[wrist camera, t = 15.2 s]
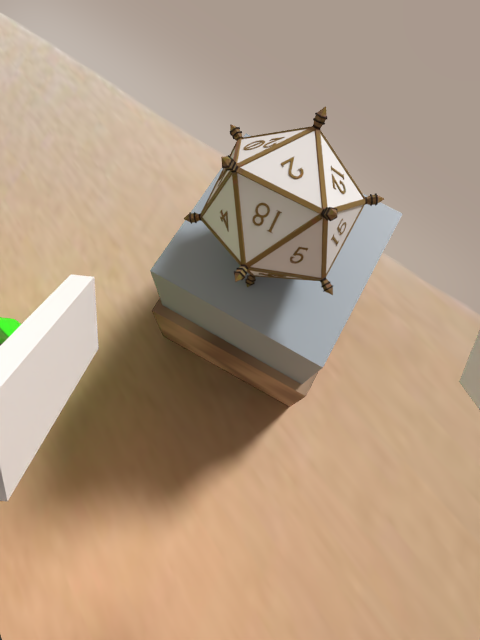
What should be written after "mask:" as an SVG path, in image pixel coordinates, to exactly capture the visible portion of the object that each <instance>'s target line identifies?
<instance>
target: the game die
mask: <svg viewBox="0 0 480 640" xmlns="http://www.w3.org/2000/svg"><path fill="white" fill-rule="evenodd" d="M315 114H316V116H315V118H314V119H313V120H314V125H313V126H312V127H306V128H300V129H293V130H287V131H281V132H275V133H269V134H263V135H256V136H250V137H242V134H241V133H242V131H240V130H239V129H240V128H239V127H235V126H233V125H230V126H231V131H230V134H231V135H232V136H233V139H235V140H237V142H236V144H235V146H234V148H233V150H232V152H231V154H230V156H229V155H228V156H227V157H221V158H222V168H223V170H222V172H221V174H220V176H219V178H218V180H217V182H216V184H215V186H214V188H213V190H212V192H211V194H210V196H209V198H208V200H207V202H206V204H205V206H204V208H203V210H202V212H201V213H200V214H197V213H195V212H194V213H191V212H189V214H188V215H187V216H186V217H185V218H184V219H185V220H187V221H188V222H190V223H191V224H192V223H194V222H195V223H197V222H198V221H202V222H203V223H204V224H205V225H206V227H207V228H208V229H209V230H210V231H211V232H212V234H213V235H214V236H215V237H216V238H217V239H218V241H219V242H220V243H221V244H222V245H223V246H224V248H225V249H226V250H227V251H228V252H229V253H230V255H231V256H232V257H233V258H234V259H235V260H236V262H237V263H238V264H239V265H240V267H239V268H236V269H237V270H236V271H234V275H235V282H237V281H239V280H243V279H244V278H245V275H246V274H247V272H248V273H249V275H247V279H246V280H245V283H246V285H247V287H249V286H251V285H253V284H255V283H254V281H256V279H255V277H269V278H283V279H297V280H311V281H320V282H321V285H322V286H321V288H323V289H324V291H325V292H327V293H329V294H331V295H333V285H331V283H330V282H331V281H330V282H329V281H328V280H327V279H326V276H327V275H328V273H329V271H330V269H331V267H332V265H333V263H334V261H335V260H336V258H337V256H338V254H339V252H340V250H341V248H342V247H343V245H344V243H345V241H346V239H347V237H348V235H349V233H350V232H351V230H352V228H353V226H354V224H355V222H356V220H357V219H358V217H359V215H360V213H361V211H362V209H363V207H364V205H365V204H368V205H370V206H372V205H375V206H376V205H377V204H378V203H379V202H381V201H382V200H384V198H382V197H380V196H378V195H377V194H375V195H371V194H370V196H368V197H364V195H363V194H362V193H361V191H360V189H359V188H358V186H357V185H356V183H355V182H354V180H353V179H352V177H351V176H350V174H349V173H348V171H347V170H346V168H345V167H344V165H343V163H342V162H341V160H340V159H339V158H338V156H337V155H336V153H335V151H334V150H333V148H332V147H331V145H330V144H329V142H328V141H327V139H326V138H325V136H324V135H323V133H322V132H321V131H320V128H321V126H322V125H323V124H325V123H324V122H325V120H326V119H327V116H326V107H324V108H323V109H322V110H320V111H319V112H318V113H315ZM324 291H323V292H324Z"/></svg>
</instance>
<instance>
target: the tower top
mask: <svg viewBox="0 0 480 640" xmlns="http://www.w3.org/2000/svg"><path fill="white" fill-rule="evenodd" d="M244 137H250V135H248V134H245V136H244ZM222 170H223V168H222V169H221V170H220V171H219V173H218V174H217V176H216V177H215V179H214V180H213V181H212V183H211V184H210V186H209V187H208V189H207V190H206V191H205V193H204V194H203V196H202V197H201V199H200V200H199V202H198V203H197V204H196V206H195V207H194V209H193V210H192V212H191V213H194V212H195V213H197V214H200V213H201V212H202V210H203V208H204V206H205V204H206V202H207V200H208V198H209V196H210V194H211V192H212V190H213V188H214V186H215V184H216V182H217V180H218V178H219V176H220V174H221V172H222ZM362 194H363V193H362ZM363 195H364V197H368V196H367V195H365V194H363ZM401 216H402V214H401V213H400V212H398V211H396V210H394V209H392V208H390V207H388V206H386V205H384V204H382V203H380V202H379V203H378V204H377V205H376V206H375V205H372V206H370V205H368V204H365V205H364V207H363V209H362V211H361V213H360V215H359V217H358V219H357V220H356V222H355V224H354V226H353V228H352V230H351V232H350V233H349V235H348V237H347V239H346V241H345V243H344V245H343V247H342V248H341V250H340V252H339V254H338V256H337V258H336V260H335V261H334V263H333V265H332V267H331V269H330V271H329V273H328V275H327V276H326V279H327V280H328V281H329V282H330V281H331V282H330V283H331V285H333V295H331V294H329V293H327V292H325V291H324V289H323V288H321V286H322V285H321V282H320V281H311V280H297V279H283V278H269V277H255V279H256V281H254V283H255V284H253V285H251V286H249V287H247V285H246V283H245V280H246V279H247V275H249V273H248V272H247V274H246V275H245V278H244V279H243V280H239V281H237V282H235V275H234V271H236V270H237V269H236V268H239V267H240V265H239V264H238V263H237V262H236V260H235V259H234V258H233V257H232V256H231V255H230V253H229V252H228V251H227V250H226V249H225V248H224V246H223V245H222V244H221V243H220V242H219V241H218V239H217V238H216V237H215V236H214V235H213V234H212V232H211V231H210V230H209V229H208V228H207V227H206V225H205V224H204V223H203V222H202V221H198V222H197V223H195V222H194V223H192V224H191V223H190V222H188V221H187V220H185V222H184V223H183V224H182V226H181V227H180V229H179V230H178V232H177V233H176V234H175V236H174V237H173V239H172V240H171V242H170V243H169V245H168V246H167V247H166V249H165V250H164V252H163V253H162V255H161V256H160V257H159V259H158V260H157V262H156V263H155V265H154V266H153V267H152V269H151V270H150V271H151V274H152V277H153V280H154V282H155V285H156V288H157V291H158V294H159V297H160V300H161V302H162V305H163V306H165V307H167V308H169V309H170V310H172V311H174V312H176V313H177V314H179V315H181V316H183V317H184V318H186V319H188V320H190V321H191V322H193V323H195V324H197V325H198V326H200V327H202V328H204V329H205V330H207V331H209V332H211V333H212V334H214V335H216V336H218V337H219V338H221V339H223V340H225V341H226V342H228V343H230V344H232V345H234V346H235V347H237V348H239V349H241V350H242V351H244V352H246V353H248V354H249V355H251V356H253V357H255V358H256V359H258V360H260V361H262V362H263V363H265V364H267V365H269V366H270V367H272V368H274V369H276V370H277V371H279V372H281V373H283V374H284V375H286V376H288V377H290V378H291V379H293V380H295V381H297V382H298V383H300V384H303V383H304V382H305V381H307V380H308V379H309V378H310V377H312V376H313V375H314V374H315V373H317V372H318V371H319V370H320V369H322V368H323V366H324V364H325V362H326V360H327V358H328V356H329V355H330V353H331V351H332V349H333V347H334V345H335V343H336V341H337V339H338V337H339V335H340V333H341V331H342V329H343V328H344V326H345V324H346V322H347V320H348V318H349V316H350V314H351V312H352V310H353V308H354V306H355V304H356V302H357V301H358V299H359V297H360V295H361V293H362V291H363V289H364V287H365V285H366V283H367V281H368V279H369V277H370V276H371V274H372V272H373V270H374V268H375V266H376V264H377V262H378V260H379V258H380V256H381V254H382V252H383V250H384V248H385V247H386V244H387V243H388V241H389V239H390V237H391V235H392V233H393V231H394V229H395V227H396V225H397V223H398V222H399V219H400V217H401ZM323 291H324V292H323Z"/></svg>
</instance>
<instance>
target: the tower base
mask: <svg viewBox="0 0 480 640" xmlns="http://www.w3.org/2000/svg"><path fill="white" fill-rule="evenodd" d="M152 312H153V314H154V316H155V318H156V321H157V323H158V325H159V328H160V330H161V332H162V334H163V336H165V337H166V338H168V339H170V340H172V341H173V342H175V343H177V344H179V345H181V346H182V347H184V348H186V349H188V350H189V351H191V352H193V353H195V354H197V355H198V356H200V357H202V358H204V359H205V360H207V361H209V362H211V363H213V364H214V365H216V366H218V367H220V368H221V369H223V370H225V371H227V372H229V373H230V374H232V375H234V376H236V377H237V378H239V379H241V380H243V381H245V382H246V383H248V384H250V385H252V386H253V387H255V388H257V389H259V390H261V391H262V392H264V393H266V394H268V395H269V396H271V397H273V398H275V399H277V400H278V401H280V402H282V403H284V404H285V405H287V406H289V407H290V406H291V405H293V404H295V403H296V402H298V401H299V400H301V399H302V398H304V397H305V396H306V395H307V393H308V391H309V389H310V387H311V385H312V383H313V381H314V379H315V377H316V375H317V373H318V372H317V373H315V374H314V375H313V376H312V377H310V378H309V379H308V380H307V381H305V382H304V383H303V384H300V383H298V382H297V381H295V380H293V379H291V378H290V377H288V376H286V375H284V374H283V373H281V372H279V371H277V370H276V369H274V368H272V367H270V366H269V365H267V364H265V363H263V362H262V361H260V360H258V359H256V358H255V357H253V356H251V355H249V354H248V353H246V352H244V351H242V350H241V349H239V348H237V347H235V346H234V345H232V344H230V343H228V342H226V341H225V340H223V339H221V338H219V337H218V336H216V335H214V334H212V333H211V332H209V331H207V330H205V329H204V328H202V327H200V326H198V325H197V324H195V323H193V322H191V321H190V320H188V319H186V318H184V317H183V316H181V315H179V314H177V313H176V312H174V311H172V310H170V309H169V308H167V307H165V306H163V305H162V302H161V300H160V299H159V300H158V302H157V303H156V305H155V307H154V308H153V310H152Z"/></svg>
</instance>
